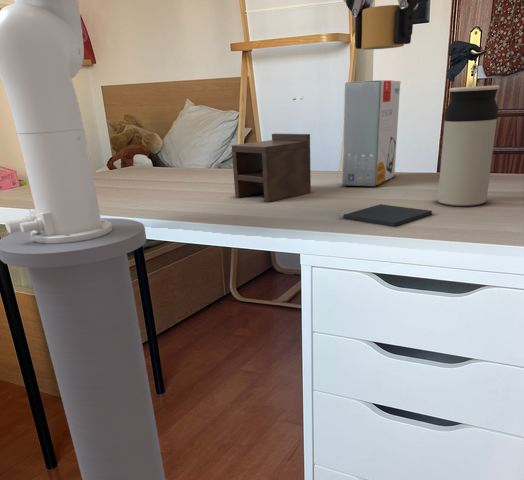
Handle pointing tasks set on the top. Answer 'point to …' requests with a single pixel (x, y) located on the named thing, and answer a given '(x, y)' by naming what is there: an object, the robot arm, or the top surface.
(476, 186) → the travel mug
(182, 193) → the top surface
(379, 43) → the tape roll
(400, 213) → the mat
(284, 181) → the rack
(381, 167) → the hard drive box
